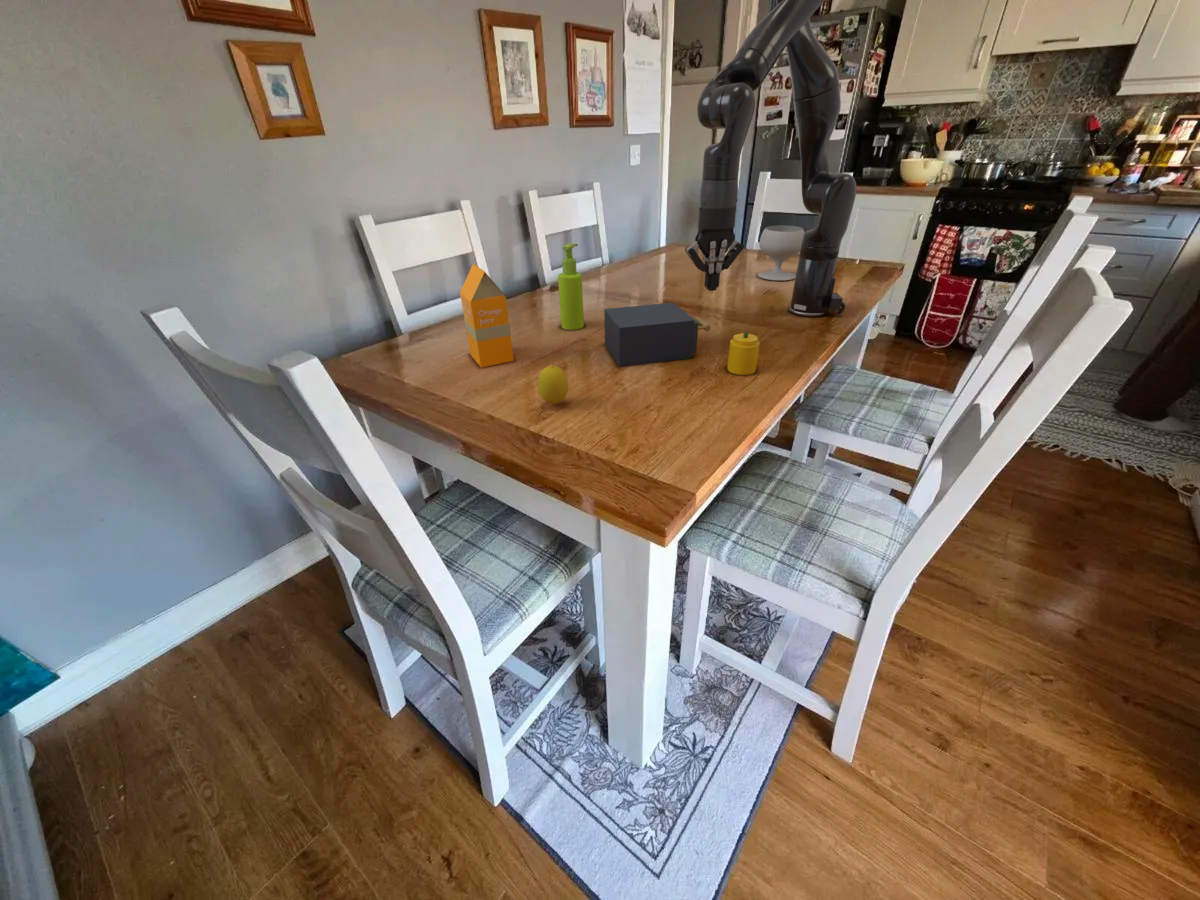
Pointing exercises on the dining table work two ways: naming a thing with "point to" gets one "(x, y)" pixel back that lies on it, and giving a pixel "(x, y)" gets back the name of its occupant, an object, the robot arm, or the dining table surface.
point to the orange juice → (486, 319)
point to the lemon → (553, 384)
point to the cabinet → (648, 333)
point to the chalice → (780, 248)
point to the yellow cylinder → (743, 354)
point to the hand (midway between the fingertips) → (711, 289)
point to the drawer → (703, 327)
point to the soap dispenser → (570, 292)
